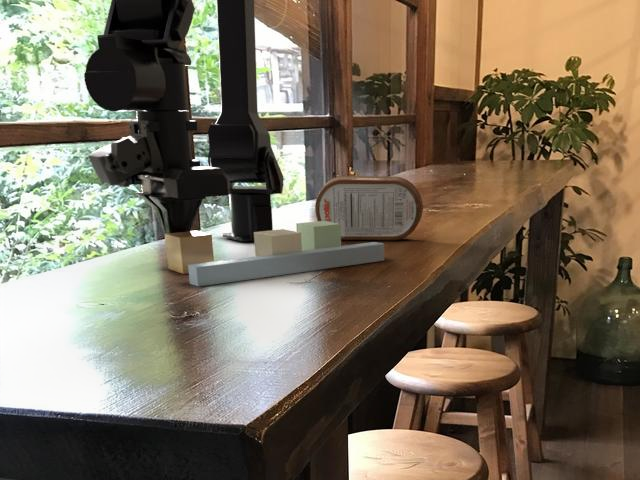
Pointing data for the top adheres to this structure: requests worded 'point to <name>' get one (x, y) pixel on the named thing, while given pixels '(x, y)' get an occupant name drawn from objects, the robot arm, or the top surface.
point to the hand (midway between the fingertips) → (176, 255)
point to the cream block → (277, 242)
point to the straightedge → (284, 263)
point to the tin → (370, 207)
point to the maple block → (188, 250)
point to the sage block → (319, 234)
